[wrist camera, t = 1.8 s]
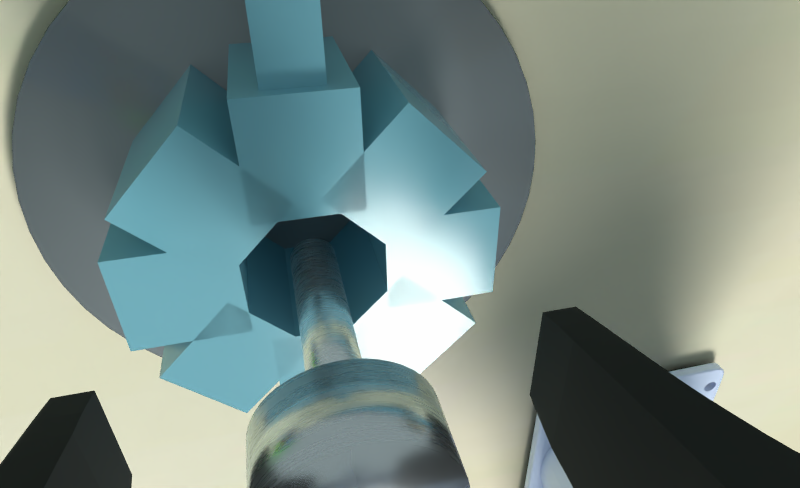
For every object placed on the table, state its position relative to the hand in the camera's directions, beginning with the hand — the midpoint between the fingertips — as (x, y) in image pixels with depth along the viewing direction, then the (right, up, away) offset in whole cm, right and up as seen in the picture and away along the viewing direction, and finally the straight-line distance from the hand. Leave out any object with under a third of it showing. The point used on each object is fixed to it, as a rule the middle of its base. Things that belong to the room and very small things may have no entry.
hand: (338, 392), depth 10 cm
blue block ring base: (-2, +4, +6) cm, 7 cm away
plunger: (-1, +2, +3) cm, 4 cm away
